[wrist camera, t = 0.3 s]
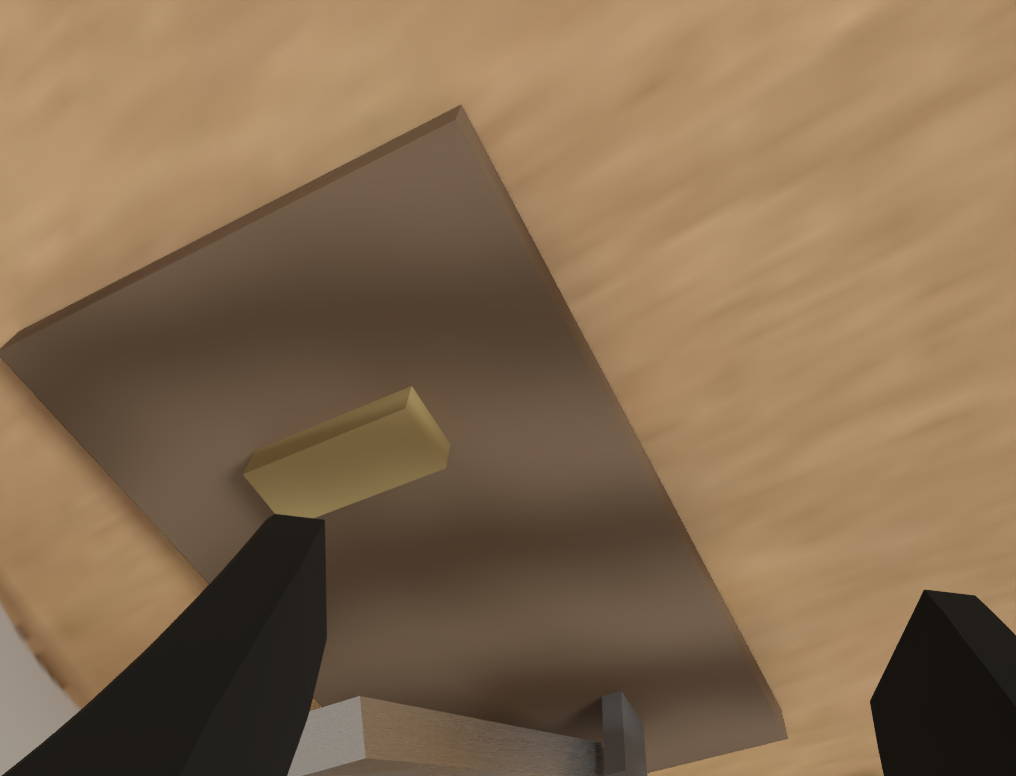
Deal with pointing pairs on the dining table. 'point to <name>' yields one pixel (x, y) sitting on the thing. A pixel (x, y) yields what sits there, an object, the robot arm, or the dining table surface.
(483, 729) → the strap
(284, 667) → the robot arm
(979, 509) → the dining table surface
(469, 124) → the base board
